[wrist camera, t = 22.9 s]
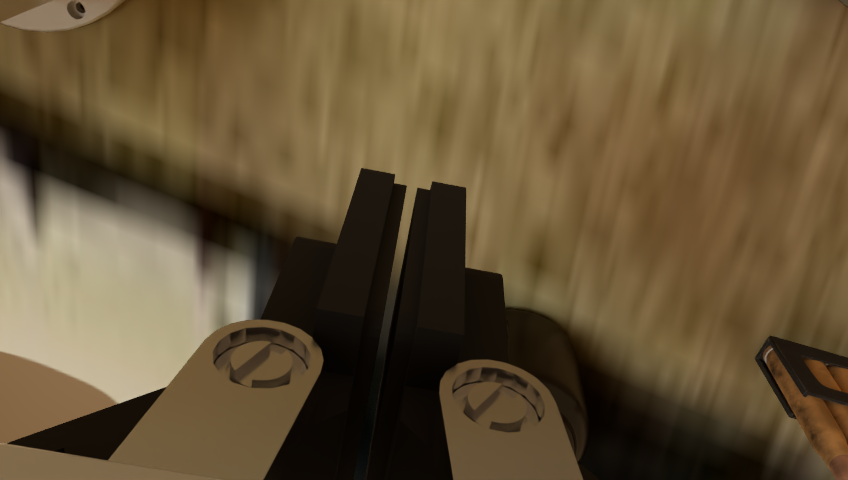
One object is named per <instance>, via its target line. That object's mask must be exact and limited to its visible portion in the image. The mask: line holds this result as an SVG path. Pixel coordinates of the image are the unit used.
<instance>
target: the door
mask: <svg viewBox="0 0 848 480" xmlns="http://www.w3.org/2000/svg"><path fill="white" fill-rule="evenodd" d="M839 1H841V2H842V3H843V4H844V5H846V6H847V7H848V0H839Z"/></svg>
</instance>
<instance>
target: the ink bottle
mask: <svg viewBox="0 0 848 480" xmlns="http://www.w3.org/2000/svg"><path fill="white" fill-rule="evenodd" d="M505 315H506V329H507V343H508V356H509V364H510V365H513V366H515V367H518V368H521V369H523V370H524V371H526V372H528V373H529V374H531V375H532V376H534V377H536V378H537V379H538V380H539V381H540V382H541V383H542V384H543V385H544V386H545V387H546V388H547V389H548V390H549V391H550V393H551V395H552V397H553V398H554V400H555V402H556V404H557V407H558V410H559V413H560V416H561V418H562V421H563V424H564V427H565V430H566V433H567V435H568V438H569V441H570V444H571V447H572V449H573V452H574V455H575V458H576V461H577V462H579V463H580V462H581V460H582V458H583V456H584V454H585V452H586V449H587V446H588V442H589V435H590V425H589V417H588V412H587V407H586V402H585V397H584V392H583V387H582V382H581V377H580V372H579V367H578V362H577V357H576V354H575V351H574V348H573V346H572V344H571V342H570V340H569V338H568V337H567V335H566V334H565V333H564V332H563V331H562V330H561V329H560V328H559V327H558V326H557V325H556V324H554V323H553V322H552V321H550V320H548V319H546V318H544V317H542V316H540V315H537V314H534V313H531V312H527V311H521V310H513V309H505Z"/></svg>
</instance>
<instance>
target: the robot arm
mask: <svg viewBox="0 0 848 480" xmlns="http://www.w3.org/2000/svg"><path fill="white" fill-rule="evenodd" d="M124 1H125V0H0V24H3V25H7V26H10V27H14V28H17V29H21V30H27V31H37V32H56V31H66V30H72V29H75V28H78V27H81V26H84V25H87V24H90V23H92V22H94V21H96V20H98V19H100V18H102V17H104V16H106V15H108V14H109V13H110V12H112V11H113V10H114V9H115V8H117V7H118V6H119V5H120V4H122V3H123V2H124ZM80 3H81V4H82V5H83V6H84V9H85V11H84V10H82V8H81V7H80ZM394 179H395V174H390V173H385V172H380V171H374V170H369V169H364V168H361V171H360V174H359V177H358V180H357V183H356V187H355V190H354V193H353V196H352V199H351V202H350V205H349V208H348V211H347V215H346V218H345V221H344V224H343V227H342V230H341V233H340V236H339V240H338V243H337V244H335V243H330V242H324V241H319V240H313V239H308V238H303V237H296V239H295V240H294V242H293V245H292V247H291V249H290V252H289V254H288V256H287V259H286V261H285V263H284V266H283V268H282V270H281V273H280V275H279V277H278V280H277V282H276V284H275V287H274V289H273V291H272V294H271V296H270V298H269V301H268V303H267V305H266V308H265V310H264V313H263V315H262V317H261V320H246V321H241V322H236V323H231V324H229V325H227V326H224V327H222V328H220V329H218V330H216V331H215V332H214V333H212V334H211V335H210V336H209V337H208V338H207V339H205V340H204V342H203V343H202V344H201V345H200V347H199V348H198V349H197V350H196V352H195V353H194V354H193V355H192V357H191V358H190V359H189V360H188V362H187V363H186V364H185V365H184V366H183V368H182V369H181V370H180V371H179V373H178V374H177V375H176V376H175V378H174V379H173V380H172V381H171V383H170V384H169V385H168V386H167V387H165V388H162V389H159V390H157V391H154V392H151V393H148V394H145V395H142V396H139V397H137V398H134V399H131V400H128V401H125V402H122V403H120V404H117V405H114V406H111V407H108V408H105V409H103V410H100V411H97V412H94V413H91V414H89V415H86V416H83V417H80V418H77V419H74V420H72V421H69V422H66V423H63V424H60V425H57V426H55V427H52V428H49V429H46V430H43V431H40V432H37V433H34V434H32V435H29V436H26V437H23V438H21V439H18V440H15V441H12V442H9V443H7V444H5V443H0V480H353V476H354V471H355V466H356V460H357V455H358V450H359V444H360V439H361V434H362V428H363V423H364V418H365V413H366V407H367V402H368V397H369V391H370V386H371V381H372V375H373V370H374V365H375V359H376V354H377V349H378V343H379V338H380V333H381V327H382V322H383V316H384V311H385V305H386V300H387V294H388V288H389V283H390V277H391V272H392V266H393V260H394V255H395V249H396V244H397V238H398V232H399V227H400V221H401V215H402V210H403V204H404V199H405V193H406V187H407V186H405V185H400V184H395V183H394ZM465 240H466V188H465V187H459V186H454V185H449V184H443V183H438V182H432V185H431V189H430V190H427V189H421V188H417V193H416V198H415V203H414V208H413V213H412V218H411V223H410V228H409V234H408V239H407V244H406V249H405V254H404V259H403V264H402V269H401V275H400V280H399V285H398V290H397V295H396V300H395V305H394V310H393V316H392V321H391V326H390V331H389V337H388V342H387V348H386V354H385V360H384V367H383V373H382V379H381V385H380V391H379V398H378V404H377V410H376V416H375V422H374V429H373V435H372V441H371V447H370V453H369V459H368V466H367V472H366V478H365V480H599V479H598V478H597V477H596V476H594V475H593V474H592V473H591V472H590V471H588V470H587V469H586V468H585V467H583V466H582V465H581V464H580V463H579V462H577V461H576V458H575V455H574V452H573V449H572V447H571V444H570V441H569V438H568V435H567V433H566V430H565V427H564V424H563V421H562V418H561V416H560V413H559V410H558V407H557V404H556V402H555V400H554V398H553V397H552V395H551V393H550V391H549V390H548V389H547V388H546V387H545V386H544V385H543V384H542V383H541V382H540V381H539V380H538V379H537V378H536V377H534V376H532V375H531V374H529V373H528V372H526V371H524V370H523V369H521V368H518V367H515V366H513V365H510V364H509V356H508V343H507V329H506V315H505V301H504V287H503V278H502V275H501V274H498V273H492V272H487V271H482V270H476V269H471V268H465Z"/></svg>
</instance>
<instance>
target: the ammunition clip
mask: <svg viewBox="0 0 848 480" xmlns="http://www.w3.org/2000/svg"><path fill="white" fill-rule="evenodd" d="M755 360H756V362H757V363H758V365H759V367H760V369H761V370H762V372H763V374H764V375H765V377H766V379H767V380H768V382H769V384H770V386H771V387H772V389H773V391H774V392H775V394H776V396H777V397H778V399H779V401H780V403H781V404H782V406H783V408H784V409H785V411H786V413H787V414H788V416H789V417H790V418H794V419H797V420H798V421H799V423H800V425H801V427H802V429H803V430H804V432H805V434H806V436H807V437H808V439H809V441H810V443H811V445H812V446H813V448H814V449H815V451H816V452H817V453H818V454H819V455H820V456H821V457H822V458H823V460H824V461H825V463H826V464H827V466H828V468H829V469H830V470H831V471H832V473H833V475H834V476H835V478H836V480H848V358H847V357H843V356H840V355H836V354H833V353H829V352H826V351H822V350H819V349H815V348H812V347H808V346H805V345H801V344H798V343H794V342H791V341H787V340H784V339H780V338H777V337H773V336H770V337H769V338H768V339H767V341H766V342H765V344H764V345H763V347H762V349H761V350H760V352H759V353H758V355H757V356H756V358H755Z"/></svg>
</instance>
